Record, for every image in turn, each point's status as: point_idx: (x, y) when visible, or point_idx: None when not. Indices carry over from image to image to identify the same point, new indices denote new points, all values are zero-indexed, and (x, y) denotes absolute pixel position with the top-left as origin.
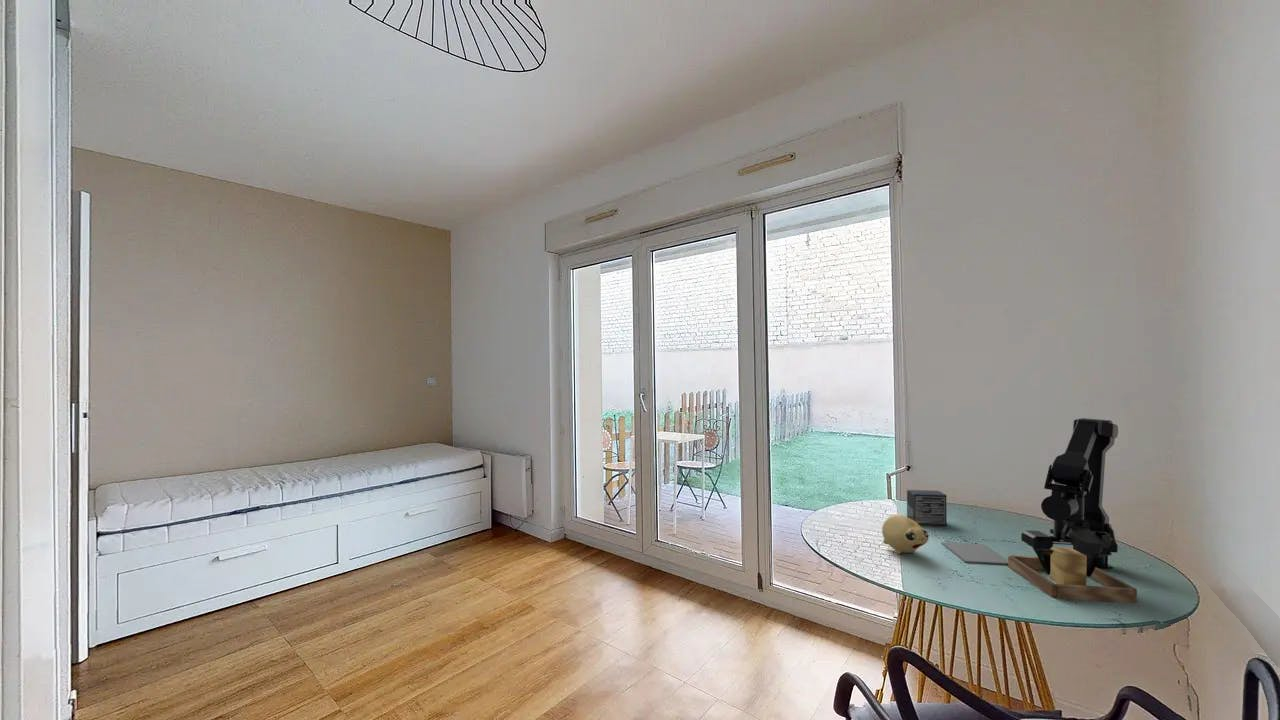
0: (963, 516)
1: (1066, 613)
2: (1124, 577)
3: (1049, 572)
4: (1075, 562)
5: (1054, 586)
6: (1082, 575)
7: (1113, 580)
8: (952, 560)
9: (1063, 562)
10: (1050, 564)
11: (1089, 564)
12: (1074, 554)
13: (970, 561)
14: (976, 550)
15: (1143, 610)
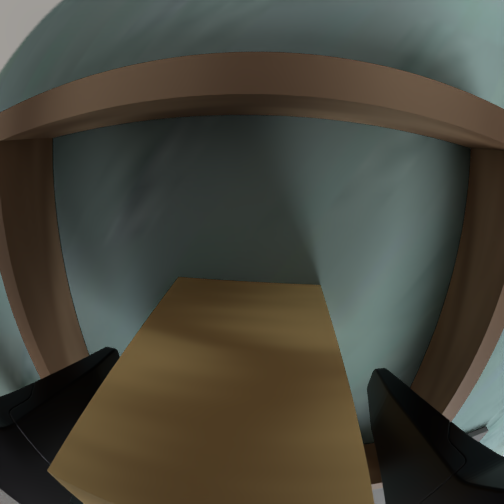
0: None
1: (491, 4)
2: (13, 360)
3: (386, 376)
4: (210, 439)
5: None
6: (173, 328)
7: (21, 275)
8: (498, 426)
9: (357, 437)
10: (413, 419)
11: (70, 407)
12: None
13: (477, 434)
14: (380, 496)
15: (75, 36)
